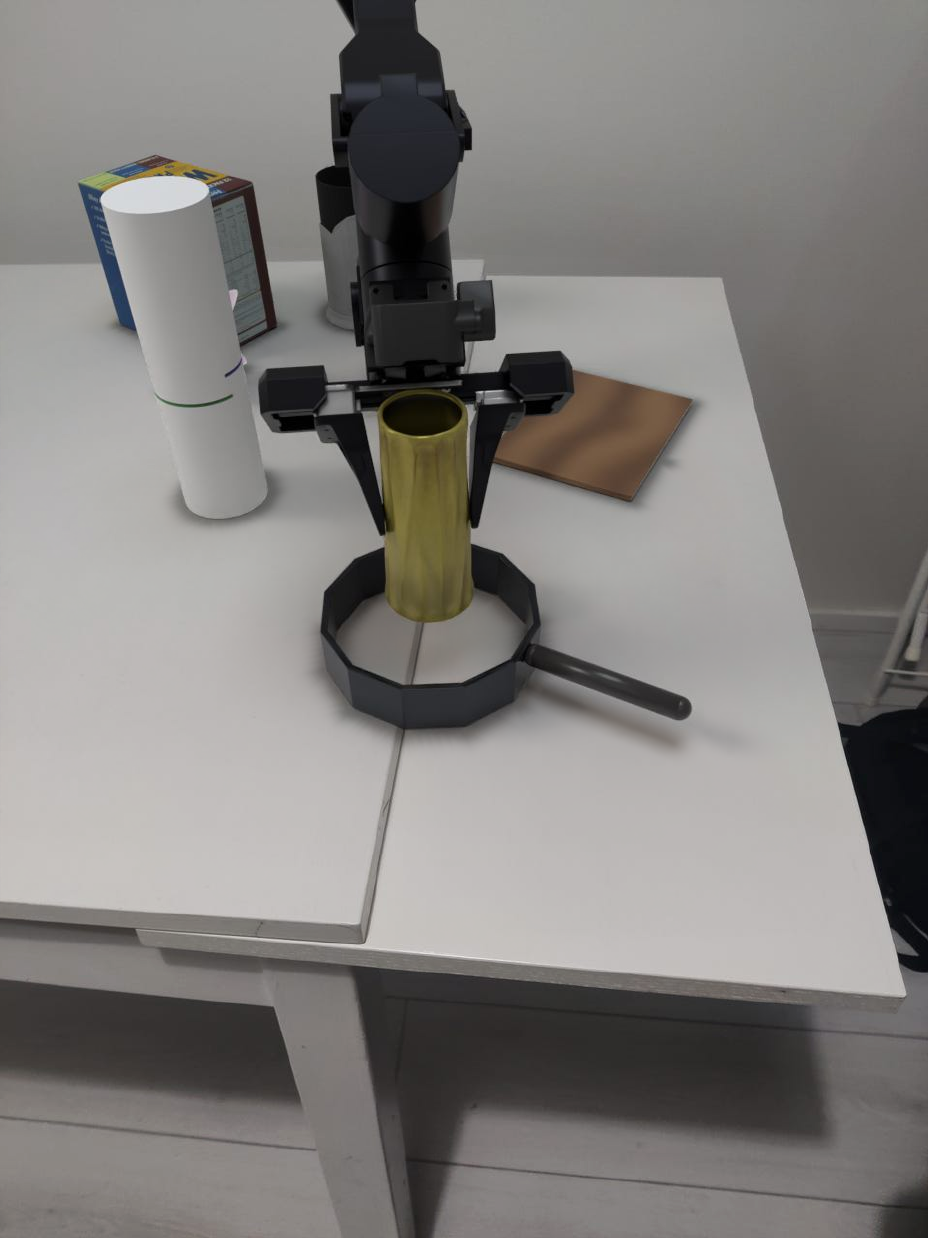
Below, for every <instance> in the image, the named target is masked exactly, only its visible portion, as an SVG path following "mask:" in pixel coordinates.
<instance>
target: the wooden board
mask: <svg viewBox="0 0 928 1238" xmlns="http://www.w3.org/2000/svg"><path fill="white" fill-rule="evenodd" d="M572 370H573V382H574V395H573V396H572V397H571V398H570V400H569V401H568V402H567V403H566V405H565V406H564V407H563V408H562V410H561V411H560V412H559V413H557V414H553V415H549V416H535V417H522V419H521V420H520V422H519V424H518V425H517V427H516V428H515V429H514V430H511V431H505V432H504V433H503V434H502V437H501V439H500V442H499V445H498V448H497V451H496V453H495V457H494V460H493V463H496V464H499V465H503V466H506V467H510V468H513V469H516V470H520V471H524V472H527V473H531V474H533V475H537V476H541V477H545V478H547V479H551V480H554V481H558V482H562V483H565V484H569V485H571V486H575V487H579V488H581V489H586V490H589V491H591V492H596V493H599V494H603V495H606V496H610V497H613V498H616V499H620V500H622V501H623V500H624V501H627V502H632V500H633V499H634V497H635V495H636V494H637V492H638V491H639V490H640V488H641V486H642V484H643V483H644V481H645V480H646V478H647V477H648V475H649V473H650V471H651V470H652V468H653V467H654V466H655V464H656V462H657V460H658V459H659V457H660V456H661V454H662V452H663V451H664V449H665V448H666V447H667V444H668V443H669V442H670V440H671V438H672V436H673V435H674V434H675V432H676V430H677V429H678V427H679V426H680V424H681V422H682V421H683V419H684V417H685V416H686V414H687V413H688V412H689V409H690V408H691V406H692V405H693V400H694V399H693V398H690V397H686V396H683V395H677V394H673V393H669V392H665V391H661V390H658V389H652V388H649V387H644V386H640V385H637V384H633V383H629V382H625V381H620V380H615V379H612V378H608V377H604V376H599V375H595V374H592V373H587V372H583V371H579V370H575V369H572Z"/></svg>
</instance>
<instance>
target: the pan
mask: <svg viewBox="0 0 928 1238" xmlns="http://www.w3.org/2000/svg"><path fill="white" fill-rule="evenodd" d="M471 575H472V579H473V583H474V589H477V590H479V591H482V592H484V593H488V594H490V595H493V596H496V597H498V598H499V599H500V600H501V602H503V604H505V606H506V607H508V608H509V610H510V611H511V612H512V613H513V614H514V615H515V616H516V617H518V619H519V620H520V621H521V622H522V623H523V624H524V625H525V631H526V633H525V635H524V637H523V639H522V640H521V642H520V643H519V645H518V647H517V648H516V649H515V651H514V652H513V654H512V655H511V657H510V658H509V659H506V660H505V661H503V662H501V663H498V664H496V665H495V666H493V667H490V668H489V669H487V670H485V671H483V672H480V673H478V674H477V675H474V676H472V677H470V678H468V679H466V680H464V681H462V682H441V683H440V682H439V683H438V682H437V683H414V684H413V683H412V684H410V683H409V684H402V683H400V682H397V681H395V680H393V679H390V678H388V677H384V676H382V675H380V674H377V673H375V672H373V671H369V670H367V669H364V668H363V667H360V666H357V665H355V664H353V662H352V661H351V659H349V657H348V655H346V653H345V652H344V650H343V649H342V648H341V647H340V645H339V644H338V643H337V634H338V631H339V630H340V629H341V627H342V626H343V625H344V624H345V623H346V622H347V621H348V620H349V618H350V617H351V616H352V615H353V613H355V611H356V610H357V609H358V608H359V607H360V606H361V605H362V603H363V602H364V601H366V600H368V599H371V598H373V597H375V596H378V595H380V594H382V593H385V584H386V570H385V546H382V547H380V548H377V549H375V550H373V551H370V552H368V553H365V554H363V555H360V556H358V557H355V558H354V559H353V560H351V562H350V563H349V564H348V565H347V566H346V567H345V569H343V570H342V571H341V572H340V574H339V575H337V577H336V578H335V579H334V580H333V581H332V582H331V583H330V584H329V585H328V587H327V588H326V589H325V590H324V591H323V599H322V609H321V620H320V627H319V628H320V630H319V634H320V640H321V645H322V646H321V647H322V651H323V658H324V663H325V669H326V673H328V675H329V676H330V677H331V679H332V680H333V682H334V683H335V684H336V686H337V687H338V689H339V690H340V691H341V693H342V694H343V696H344V697H345V699H346V700H347V702H348V703H349V704H350V705H351V707H352V708H353V709H355V710H357V711H359V712H362V713H364V714H367V715H369V716H372V717H374V718H376V719H379V720H380V721H384V722H385V723H388V724H391V725H393V726H396V727H398V728H399V729H403V730H419V729H423V730H424V729H442V728H443V729H445V728H446V729H447V728H465V727H467V726H469V725H471V724H473V723H475V722H477V721H480V720H481V719H483V718H485V717H487V716H490V715H491V714H493V713H495V712H497V711H499V710H501V709H502V708H505V707H506V706H508V705H511V704H513V703H514V702H515V701H516V699H517V698H518V696H519V694H520V693H521V691H522V689H523V688H524V686H525V684H526V683H527V681H528V680H529V678H530V676H531V675H532V673H533V672H534V670H535V669H536V670H538V671H542V672H544V673H547V674H550V675H552V676H555V677H557V678H561V679H563V680H566V681H569V682H571V683H574V684H576V685H579V686H581V687H585V688H587V689H590V690H592V691H596V692H597V693H601V694H604V695H606V696H608V697H612V698H614V699H617V700H620V701H622V702H625V703H628V704H631V705H633V706H636V707H639V708H641V709H645V710H647V711H649V712H652V713H655V714H658V715H660V716H663V717H666V718H669V719H671V720H674V721H677V722H680V721H681V722H682V721H685V720H687V719H688V718H689V717H690V716H691V714H692V711H693V705H692V703H691V701H690V699H688V698H687V697H686V696H684V695H681V694H678V693H675V692H673V691H670V690H667V689H665V688H661V687H659V686H657V685H653V684H650V683H648V682H645V681H642V680H639V679H637V678H633V677H631V676H628V675H625V674H622V673H620V672H617V671H614V670H612V669H608V668H606V667H604V666H602V665H601V666H600V665H598V664H595V663H593V662H590V661H587V660H584V659H581V658H578V657H575V656H572V655H570V654H567V653H564V652H562V651H560V650H556V649H553V648H550V647H548V646H545V645H542V644H540V642H541V629H542V628H541V627H542V621H541V616H540V609H539V608H540V607H539V602H538V596H537V595H538V594H537V590H536V584H535V583H534V582H533V581H532V580H531V579H530V578H529V577H527V575H526V574H525V573H524V572H523V571H522V570H521V569H519V568H518V566H517V565H516V564H514V562H513V561H512V560H510V559H509V558H508V557H507V556H506V555H505V554H504V553H502V552H499V551H496V550H493V549H490V548H488V547H484V546H481V545H477V544H475V543H473V542H471Z"/></svg>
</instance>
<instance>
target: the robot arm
mask: <svg viewBox="0 0 928 1238" xmlns="http://www.w3.org/2000/svg"><path fill="white" fill-rule="evenodd" d="M335 2H336V4H337V6H338V7H339V9H340V10H341V13H342V14H343V16H344V18H345V19H346V21H347V24H349V26H350V28H351V30H352V32H353V33H354V36H352V38H351V39H350V40H349V42H348V43H347V44H346V45H345V46H344V47H343V48H342V49H341V51H340V52H339V54H338V64H339V65H338V66H339V79H340V80H339V81H340V93H339V92H338V93H330V94H329V101H330V104H329V105H330V127H331V128H330V129H331V130H330V131H331V146H332V154H333V161H334V165H335V167H348V169H349V174H350V177H351V186H352V195H353V204H354V209H355V218H356V230H357V242H358V253H359V255H358V257H357V261H356V272H357V282H350V291H351V304H352V314H353V323H354V330H353V331H354V339H355V340H354V341H355V347H356V348H362V347H363V350H364V351H363V352H364V360H365V361H364V362H365V373H366V379H361V380H360V379H358V380H344V381H343V380H342V381H329V379H328V376H327V372H326V368H325V365H324V364H319V365H302V366H301V365H300V366H286V367H270V368H268V367H267V368H266V369H265V370H264V371H263V373H262V374H261V375H260V377H259V378H258V382H257V391H258V402H259V403H258V404H259V414H260V416H261V417H262V419H263V420H264V423H265V424H266V425H267V427H268V428H269V430H270V431H271V433H274V434H275V433H276V434H281V435H282V434H295V433H311V432H316V434H317V436H318V439H319V441H320V443H321V444H336V445H337V446H338V448H339V450H340V451H341V453H342V455H343V457H344V459H345V460H346V462H347V464H348V466H349V468H350V469H351V471H352V473H353V474H354V477H355V479H356V481H357V483H358V485H359V487H360V491H361V493H362V496H363V497H364V500H365V503H366V505H367V508H368V510H369V512H370V515H371V518H372V520H373V523H374V525H375V528H376V531H377V532H378V535H379V537H382V536H383V537H384V536H385V535H386V531H385V520H384V509H383V501H382V494H381V491H380V487H379V482H378V478H377V477H378V476H377V474H376V473H377V472H376V468H375V465H374V460H373V455H372V451H371V446H370V442H369V438H368V437H369V436H368V433H367V432H368V431H367V427H366V423H365V417H364V413H365V412H378V410H379V407H380V406H381V404H382V403H383V402H384V401H385V400H387V399H388V398H390V397H391V396H393V395H395V394H397V393H400V392H403V391H407V390H417V389H432V390H438V391H443V390H445V391H446V392H447V393H450V394H452V395H454V396H456V397H457V398H459V399H460V400H461V401H462V402H463V403H464V405H465V406H469V405H472V407H473V411H474V412H475V413H474V415H473V418H472V421H471V422H470V426H469V452H468V453H469V455H468V459H469V460H468V461H469V462H468V490H469V500H470V524H471V529H472V530H474V529H478V528H479V526H480V523H481V518H482V512H483V508H484V503H485V500H486V499H485V498H486V494H487V491H488V486H489V482H490V481H489V480H490V476H491V471H492V467H493V463H494V462H493V460H494V457H495V453H496V451H497V448H498V445H499V442H500V439H501V437H502V436H503V435H504V433H505V432H507V431H511V430H514V429H515V428H516V427H517V425H518V424H519V422H520V420H521V419H522V417H535V416H549V415H553V414H557V413H559V412H560V411H561V410H562V408H563V407H564V406H565V405H566V403H567V402H568V401H569V400H570V398H571V397H572V396H573V395H574V382H573V370H574V369H573V365H572V364H571V360H570V359H569V358H568V357H567V355H566V354H565V353H564V352H563V351H562V350H548V351H531V352H529V351H528V352H515V353H513V352H512V353H505V355H504V357H503V360H502V362H501V365H500V367H499V369H498V371H487V372H472V373H471V372H469V373H462V369H461V368H464V367H465V365H466V362H467V358H466V357H467V356H466V344H465V343H471V342H472V343H473V342H488V341H494V340H495V339H496V335H497V334H496V333H497V325H496V324H497V323H496V305H495V304H496V303H495V295H494V286H493V285H494V284H493V279H484V280H483V279H482V280H466V281H465V280H464V281H463V280H462V281H459V282H457V284H456V297H455V286H454V276H453V265H452V264H453V263H452V251H451V241H450V229H449V228H450V227H449V225H450V223H451V219H452V216H453V211H454V206H455V205H454V203H455V196H456V187H457V182H458V174H459V167H460V163H464V157H465V152H468V151H473V127H472V124H471V123H470V120H469V118H468V116H467V113H466V111H465V110H464V109H463V107H461V106H460V104H459V102H458V97H457V93H456V91H455V89H446V83H445V76H444V69H443V62H442V57H441V51H440V50H439V49H438V48H437V47H436V46H435V45H434V44H432V42H430V41H429V40H428V39H427V38H426V37H425V36H423V35H422V34H421V33H420V32H419V26H418V25H419V24H418V17H417V7H416V3H417V0H335ZM363 412H364V413H363Z"/></svg>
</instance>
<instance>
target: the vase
mask: <svg viewBox="0 0 928 1238" xmlns="http://www.w3.org/2000/svg"><path fill="white" fill-rule="evenodd" d="M447 392H448V391H443V390H441V391H440V390H432V389H417V390H407V391H403V392H400V393H397V394H395V395H393V396H391V397H390V398H388V399H387V400H385V401H384V402H383V403H382V404H381V406H380V407H379V410H378V411H377V415H376V417H377V426H378V441H379V460H380V461H379V463H380V478H381V479H380V480H381V481H380V482H381V500H382V504H383V509H384V520H385V531H386V535H385V536H383V538H384V547H385V570H386V584H385V592H384V595H385V599H386V602H387V604H388V606H389V607H390V608H391V610H392V611H394V613H395V614H397V615H398V616H400V617H401V618H404V619H406V620H409V621H412V622H415V623H423V624H432V623H433V624H435V623H441V622H446V621H449V620H451V619H453V618H456V617H458V616H460V615H461V614H462V613H463V612H465V611H466V610H467V609H468V608H469V606H470V605H471V603H472V602H473V600H474V597H475V588H474V583H473V579H472V575H471V543H472V539H471V537H472V535H471V534H472V533H471V532H472V531H471V529H472V528H471V524H470V500H469V477H468V457H467V455H468V454H467V451H468V450H467V449H468V448H467V446H468V445H467V443H468V432H469V431H468V430H469V414H468V409H467V405H464V403H463V402H462V401H461V400H460V399H459V398H457V397H456V396H454V395H452V394H450V393H447Z"/></svg>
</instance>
